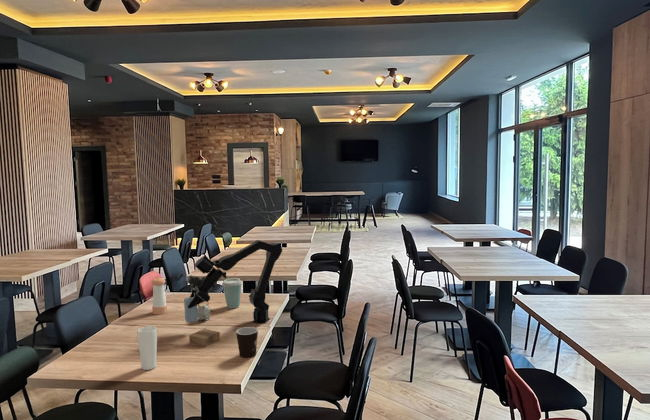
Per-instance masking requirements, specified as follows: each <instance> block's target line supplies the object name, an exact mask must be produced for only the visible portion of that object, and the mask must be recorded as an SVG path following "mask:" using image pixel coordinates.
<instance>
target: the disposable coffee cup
mask: <svg viewBox="0 0 650 420" xmlns="http://www.w3.org/2000/svg"><path fill="white" fill-rule="evenodd" d="M221 286H222V288H223V293H224V298H225V302H226V303H225V304H226V306H227V307H226V308H228V309H236V308H237V309H238V308H239V307H240V305H241V293H242V291H241V290H242V280H241V279H240V278H238V277H232V278H231V277H230V278H225V280H223V281H222V283H221Z"/></svg>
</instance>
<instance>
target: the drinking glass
mask: <svg viewBox="0 0 650 420" xmlns="http://www.w3.org/2000/svg"><path fill="white" fill-rule="evenodd" d="M137 345H138V350H139V351H138V352H139V358H140V366H141V367H140V368H141V369H142V370H143V371H149V370H150V369H151V370H153V369H155V368H157V367H156V366H157V354H158V353H157V349H158V329H157V327H156V326H154V325H147V326H146V325H145V326H143V327H139V328H138V329H137Z"/></svg>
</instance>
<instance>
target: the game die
mask: <svg viewBox="0 0 650 420" xmlns="http://www.w3.org/2000/svg"><path fill="white" fill-rule="evenodd" d="M197 312H198V322H200V321H203V320H209V321H211V319H210V316H211V313H212V312H213V310H212V309H211V308H210V306H209V302H207V304H201V305H200V304H198V305H197Z"/></svg>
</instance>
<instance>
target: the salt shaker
mask: <svg viewBox="0 0 650 420" xmlns="http://www.w3.org/2000/svg"><path fill="white" fill-rule="evenodd" d="M150 283H151V285H152V289H153V290H152V294H153V295H152V308H151V310H152V314H153V315H162V314H165V313H167V312H168V305H167V297H166V293H165V283H166V279H165V278H164V277H160V276H156V278H154V279H152V280H151V282H150Z"/></svg>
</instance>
